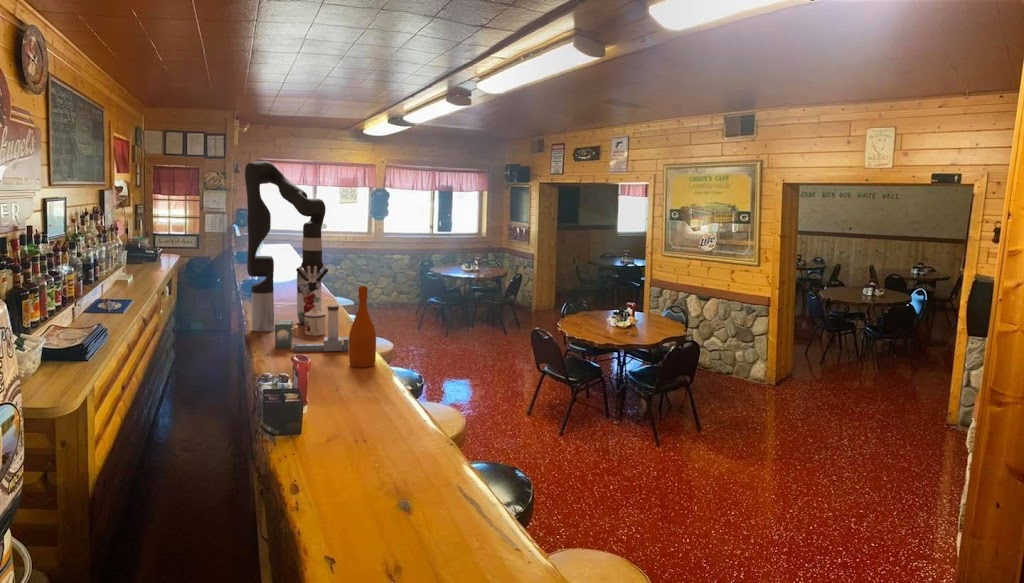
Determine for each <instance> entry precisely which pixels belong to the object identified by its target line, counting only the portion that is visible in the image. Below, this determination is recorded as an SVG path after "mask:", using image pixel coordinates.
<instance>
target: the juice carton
mask: <svg viewBox="0 0 1024 583" xmlns="http://www.w3.org/2000/svg"><path fill="white" fill-rule="evenodd" d="M302 269H303V268H302ZM302 272H303V273H304V274H305V276H306V277H307V278H308V273H306V271H305V270H304V269H303V271H302ZM296 274H297V275H296V315H297V320H298V322H299V324H300V325H301V326H305V316H304V314H305V313H307V312H309V311H311V310H313V308H317V310H319V311H321V312H322V279H321V280H320V281H317V282H316V290H314V291H310V290H309V282H308V281H305V280H304V279H303V278H302V277H301V276H300V275H299V273H298V272H297V271H296ZM321 274H322V271H321V270H320V271H319V273H317V278H318V277H319V276H320V275H321ZM312 282H313V273H312Z"/></svg>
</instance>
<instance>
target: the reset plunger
mask: <svg viewBox="0 0 1024 583" xmlns="http://www.w3.org/2000/svg"><path fill="white" fill-rule="evenodd" d="M273 331H275V328H274V330H273ZM291 333H292V334H293V336H296V337H297V336H298V335H299V325H294V326H293V327H292V328H291Z"/></svg>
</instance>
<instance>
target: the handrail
mask: <svg viewBox="0 0 1024 583" xmlns="http://www.w3.org/2000/svg"><path fill="white" fill-rule="evenodd" d="M310 352H311V353H312V352H313V353H314V352H317V353H318V352H319V353H320V352H322V353H323V352H325V351H324V343H294V344H293V353H310ZM341 352H343V353H346V352H347V353H349V336H343V338H342V351H341Z"/></svg>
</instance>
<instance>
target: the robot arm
mask: <svg viewBox="0 0 1024 583" xmlns="http://www.w3.org/2000/svg"><path fill="white" fill-rule="evenodd" d="M244 178H245V180H244V181H245V189H246V197H247V214H246V215H247V221H246V222H247V238H248V239H247V240H248V241H247V262H246V265H247V266H246V268H247V270H246V271H247V274H248V276H249V277H252V278H262V277H263V278H265V279H263V280H262V281H260V282H257V283H255V284H253V285H252V286H251V287H250V288H251V289H250V290H251V297H250V298H251V331H253V332H259V333H263V332H264V333H265V332H272V331H275V330H274V329H275V306H274V305H275V298H274V297H275V296H274V291H275V290H274V289H275V287H274V271H275V261H274V258H273V256H272V255H256V254H257V252H258V249H259V246H260V245H261V243H262V242H263V241H264V239H266V237H267V236H268V234H269V233H270V231H271V224H272V222H271V220H272V219H271V218H272V217H271V215H272V214H271V212H270V209H269V208H268V207H267V205H266V203H265V202H264V200H263V199H262V195H261V188H260V187H261V185H262V184H269V183H271V184H272V185H275V186H276V187H278V192H279V194H280V195H281V197H282V198H283V199H284V200H286V201H287V202H288V203H290V204H291V205H292V206H293V207H294V208H295V209H296V211H297V213H299V214H300V215H302V216H304V217H310V219H309V221H308V222H305V223H304V224H303V225H302V263H301V265H300V266H299V267H296V270H295V271H296V273H297V272H298V273H299V275H300V276H301V277H302V278H303V279H304V280H305V281H308V282H309V290H310V291H314V290H316V282H317V281H320V280H321V281H322V279H323V278H324V277H325V275H326V274H327V273H328V272H329V268H328V267H326V266H324V263H323V241H322V226H323V223H324V219H325V214H326V211H327V210H326V204H325V201H324V200H322V199H320V198H308V195H307V192H305V190H302V188H299V187H298V186H297V185H296V184H294V183H293V182H291V181H290V180H289V179H288V178H287V177H286V176H285V175H284V173H282V172H281V170H280V169H278V168H277V167H276V166H275V165H274V164H273V163H272V162H270V161H267V160H261V161H260V160H259V161H252V162H248V163H247V164H246V165H245V168H244ZM303 269H304V270H305V271H306V273H308V278H307V277H306V276H305V274H304V273H303V272H302V271H303ZM319 271H320V272H321V275H320V276H319V277H318V278H317V273H319ZM312 273H313V282H312Z"/></svg>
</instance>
